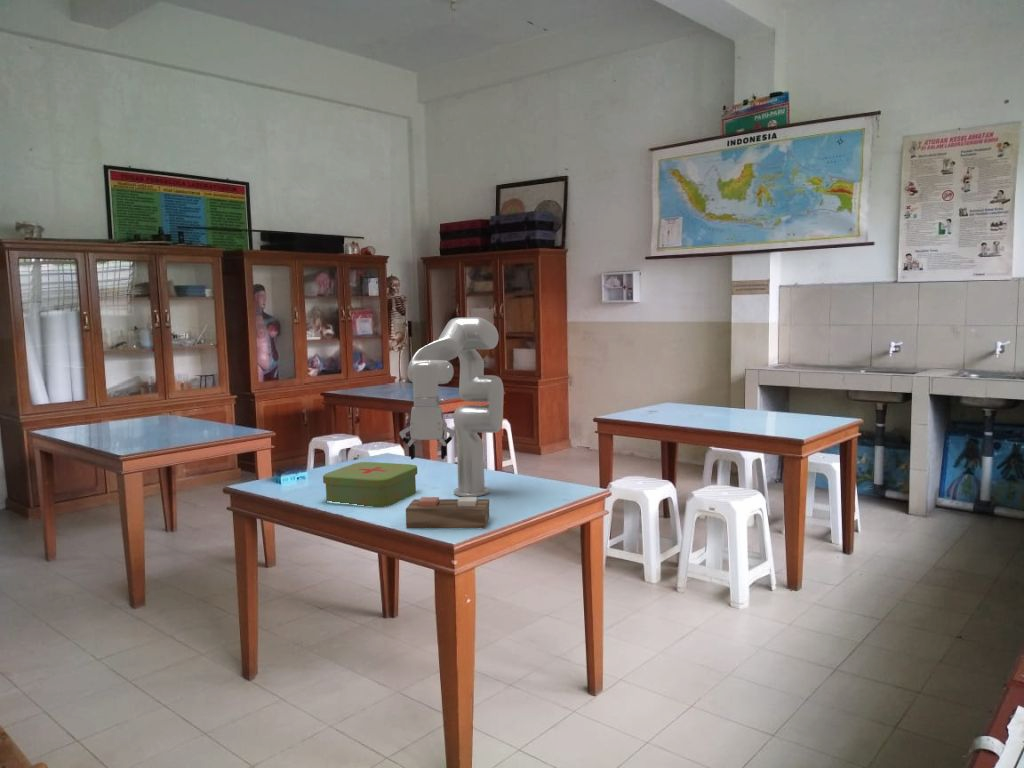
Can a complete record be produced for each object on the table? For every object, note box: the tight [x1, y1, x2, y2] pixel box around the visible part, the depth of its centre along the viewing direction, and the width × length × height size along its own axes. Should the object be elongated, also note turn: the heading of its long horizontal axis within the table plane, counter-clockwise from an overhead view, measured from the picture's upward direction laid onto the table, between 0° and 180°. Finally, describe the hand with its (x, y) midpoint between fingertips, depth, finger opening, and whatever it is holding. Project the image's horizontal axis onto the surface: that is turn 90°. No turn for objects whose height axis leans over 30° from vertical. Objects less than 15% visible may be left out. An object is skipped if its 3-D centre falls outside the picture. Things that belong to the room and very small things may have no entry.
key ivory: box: [457, 496, 478, 506], centre depth 233 cm, size 5×5×4 cm
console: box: [405, 498, 491, 530], centre depth 234 cm, size 12×24×6 cm, turn 86°
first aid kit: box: [322, 461, 418, 508], centre depth 270 cm, size 26×26×10 cm
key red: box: [418, 496, 440, 507], centre depth 234 cm, size 5×5×4 cm
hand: (428, 458), depth 232 cm, fingers open, 9 cm apart
